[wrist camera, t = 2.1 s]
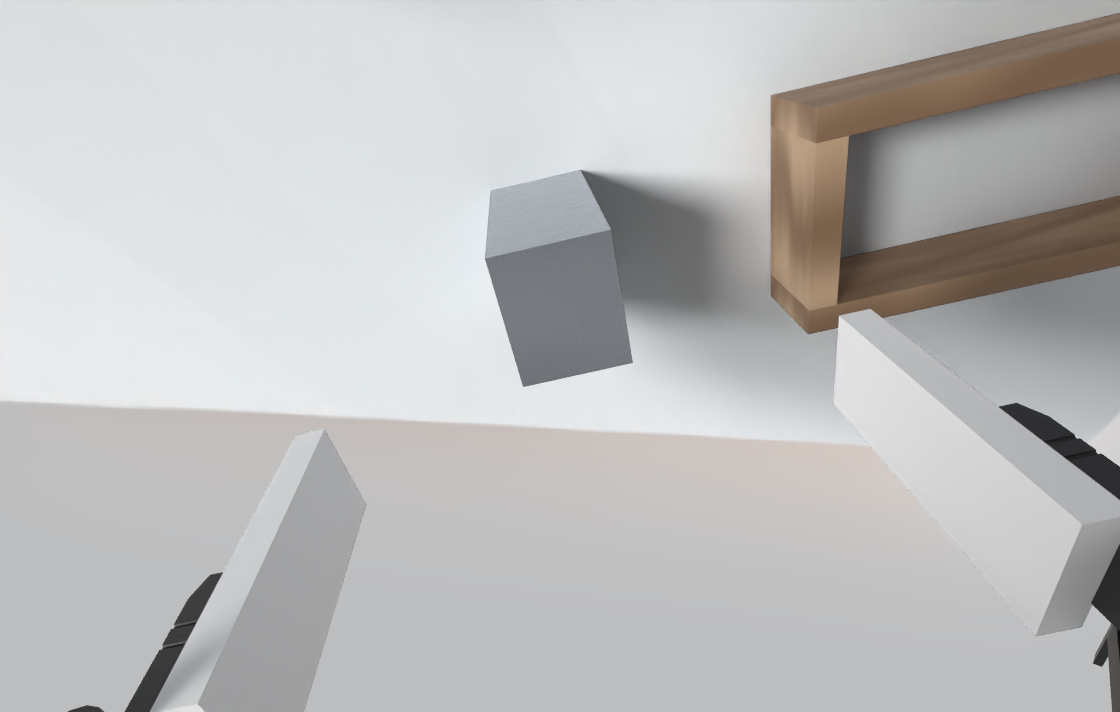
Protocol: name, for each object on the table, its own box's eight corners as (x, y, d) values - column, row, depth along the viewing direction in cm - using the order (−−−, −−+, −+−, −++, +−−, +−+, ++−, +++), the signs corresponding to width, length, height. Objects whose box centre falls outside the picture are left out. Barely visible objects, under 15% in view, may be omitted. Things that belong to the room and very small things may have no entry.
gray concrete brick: (490, 191, 24) (485, 258, 17) (580, 169, 24) (611, 229, 17) (518, 293, 26) (523, 386, 20) (599, 274, 26) (632, 362, 20)
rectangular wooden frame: (770, 95, 23) (817, 108, 19) (1247, -17, 22) (1382, -25, 19) (771, 295, 28) (808, 334, 24) (1160, 209, 27) (1254, 235, 24)
